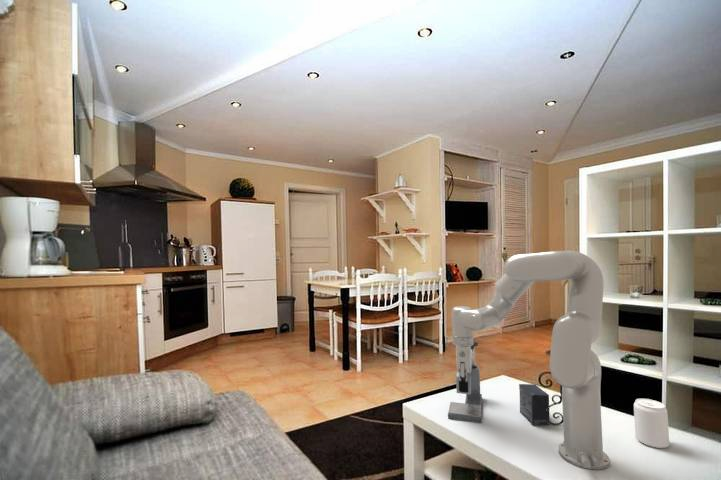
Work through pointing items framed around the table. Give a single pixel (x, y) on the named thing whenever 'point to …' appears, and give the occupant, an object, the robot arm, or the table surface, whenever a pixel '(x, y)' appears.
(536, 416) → the small box
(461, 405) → the press
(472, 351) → the plunger
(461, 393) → the housing
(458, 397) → the table surface
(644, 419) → the white cylindrical container
